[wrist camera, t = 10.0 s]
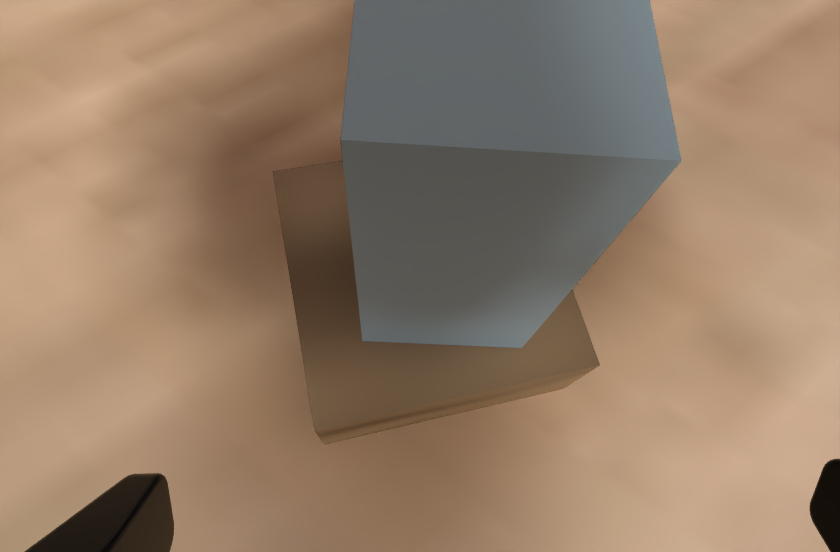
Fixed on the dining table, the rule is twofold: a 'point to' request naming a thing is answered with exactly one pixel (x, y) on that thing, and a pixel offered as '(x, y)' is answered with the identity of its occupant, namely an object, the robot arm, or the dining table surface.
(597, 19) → the blue block
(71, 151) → the dining table surface
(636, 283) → the dining table surface
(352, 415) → the walnut block
